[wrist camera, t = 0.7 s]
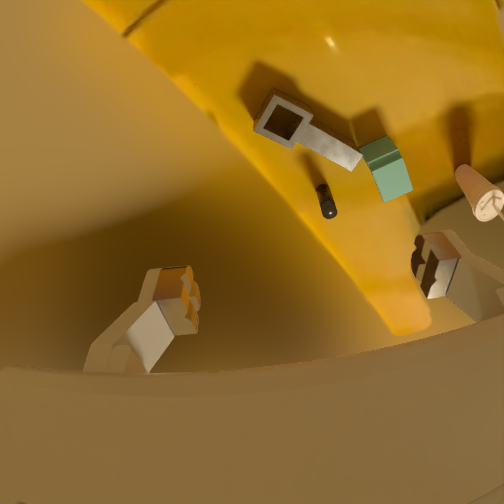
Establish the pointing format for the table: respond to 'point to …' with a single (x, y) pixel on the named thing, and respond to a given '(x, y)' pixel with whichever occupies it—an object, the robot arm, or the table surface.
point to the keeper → (387, 168)
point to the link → (305, 131)
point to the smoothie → (480, 193)
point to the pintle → (326, 201)
